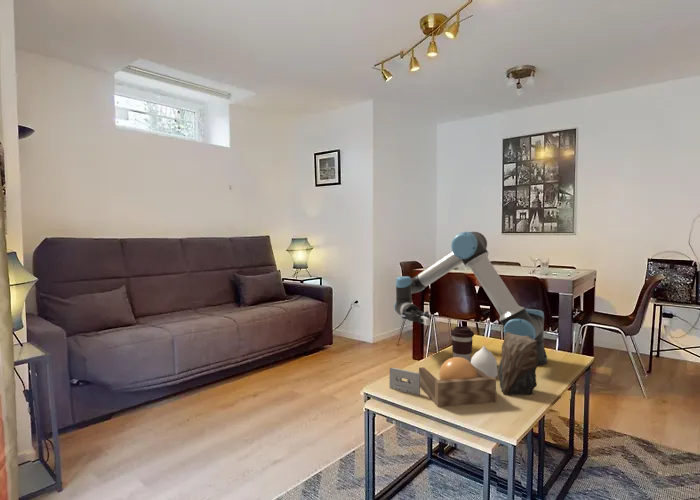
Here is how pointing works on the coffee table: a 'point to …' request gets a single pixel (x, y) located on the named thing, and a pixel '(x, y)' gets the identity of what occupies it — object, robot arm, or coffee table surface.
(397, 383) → the cassette
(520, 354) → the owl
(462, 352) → the coffee cup
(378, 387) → the coffee table surface
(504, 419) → the coffee table surface
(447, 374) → the ball
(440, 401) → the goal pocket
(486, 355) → the teardrop
